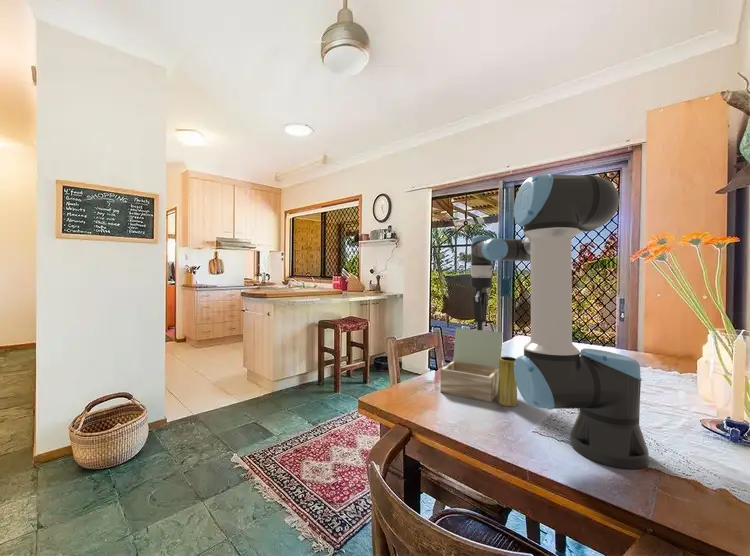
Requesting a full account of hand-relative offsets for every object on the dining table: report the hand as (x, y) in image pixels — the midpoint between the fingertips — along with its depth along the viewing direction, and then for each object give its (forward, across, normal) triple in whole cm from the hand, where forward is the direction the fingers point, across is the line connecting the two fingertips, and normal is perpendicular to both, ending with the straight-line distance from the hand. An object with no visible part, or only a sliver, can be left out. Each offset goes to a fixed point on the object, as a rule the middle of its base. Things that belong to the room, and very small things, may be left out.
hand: (480, 339), depth 129 cm
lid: (+2, -4, 0) cm, 5 cm away
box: (+16, -12, 0) cm, 20 cm away
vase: (+17, -16, -13) cm, 27 cm away
